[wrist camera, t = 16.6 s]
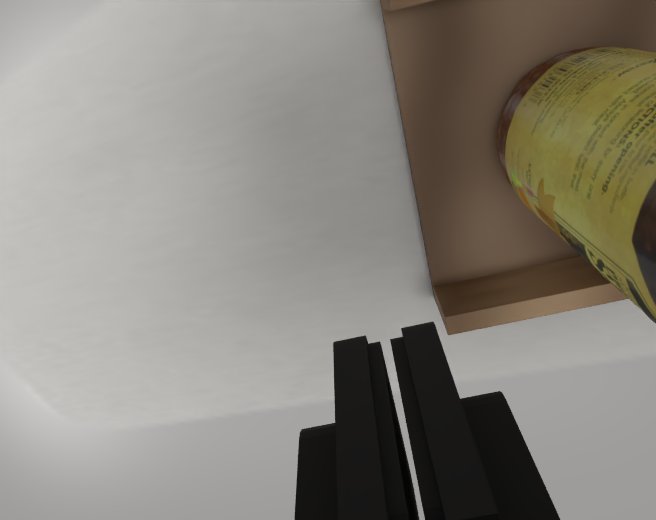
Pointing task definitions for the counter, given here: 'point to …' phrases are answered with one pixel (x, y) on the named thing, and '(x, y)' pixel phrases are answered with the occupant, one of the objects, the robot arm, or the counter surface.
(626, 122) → the sauce bottle
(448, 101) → the tray
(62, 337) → the counter surface
